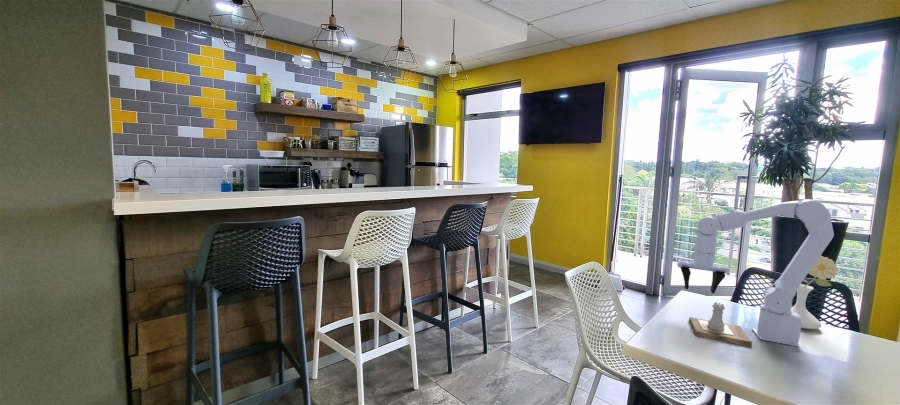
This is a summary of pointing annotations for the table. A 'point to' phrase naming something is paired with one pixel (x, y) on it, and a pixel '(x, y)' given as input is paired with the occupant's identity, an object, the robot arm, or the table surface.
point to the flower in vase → (821, 270)
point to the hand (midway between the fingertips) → (699, 290)
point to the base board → (720, 332)
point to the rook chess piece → (717, 318)
